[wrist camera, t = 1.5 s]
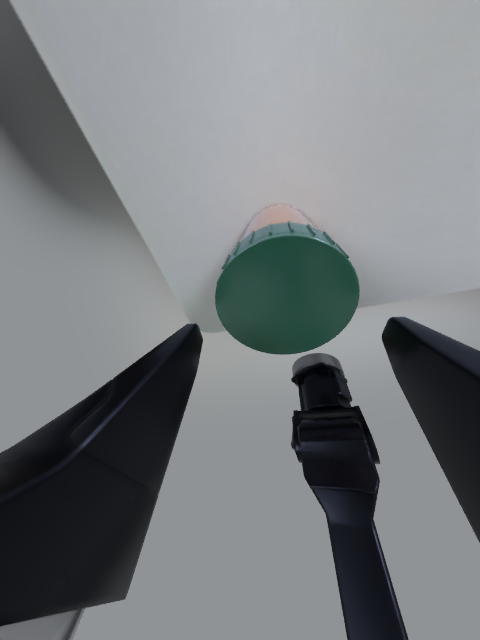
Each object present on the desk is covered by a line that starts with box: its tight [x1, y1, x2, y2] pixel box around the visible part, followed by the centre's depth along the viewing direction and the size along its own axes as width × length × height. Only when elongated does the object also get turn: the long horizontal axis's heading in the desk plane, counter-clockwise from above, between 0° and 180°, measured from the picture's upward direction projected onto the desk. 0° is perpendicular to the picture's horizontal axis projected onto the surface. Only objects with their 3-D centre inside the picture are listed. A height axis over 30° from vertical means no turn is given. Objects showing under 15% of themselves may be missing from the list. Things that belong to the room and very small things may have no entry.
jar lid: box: [215, 221, 359, 354], centre depth 10 cm, size 6×7×2 cm
